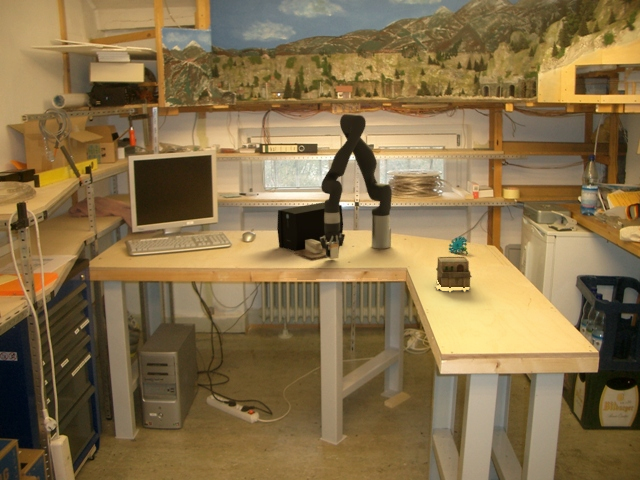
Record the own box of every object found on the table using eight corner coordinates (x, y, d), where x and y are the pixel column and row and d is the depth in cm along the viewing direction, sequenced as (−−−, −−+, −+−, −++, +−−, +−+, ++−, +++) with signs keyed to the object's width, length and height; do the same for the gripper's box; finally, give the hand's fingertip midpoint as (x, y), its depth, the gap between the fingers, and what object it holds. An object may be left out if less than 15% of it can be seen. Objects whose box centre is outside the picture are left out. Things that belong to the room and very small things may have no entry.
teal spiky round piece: (444, 247, 309) (457, 232, 309) (450, 254, 312) (463, 239, 312) (457, 255, 299) (470, 240, 299) (463, 262, 302) (476, 247, 302)
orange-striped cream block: (333, 255, 297) (333, 242, 296) (338, 257, 294) (338, 244, 292) (326, 257, 295) (326, 243, 293) (331, 259, 291) (331, 245, 290)
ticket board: (320, 248, 317) (320, 237, 315) (338, 255, 304) (338, 242, 302) (294, 253, 308) (294, 241, 307) (311, 260, 295) (311, 247, 294)
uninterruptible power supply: (277, 247, 322) (276, 209, 317) (325, 236, 344) (324, 201, 339) (297, 252, 310) (296, 214, 305) (345, 241, 332) (345, 205, 327)
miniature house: (430, 281, 260) (431, 255, 257) (464, 281, 260) (465, 255, 257) (436, 293, 245) (437, 265, 242) (472, 292, 245) (473, 265, 242)
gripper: (339, 218, 297) (339, 252, 301) (315, 221, 289) (315, 256, 293) (348, 220, 291) (348, 255, 295) (324, 224, 283) (324, 260, 287)
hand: (332, 255), depth 294 cm, fingers closed on orange-striped cream block, 4 cm apart
